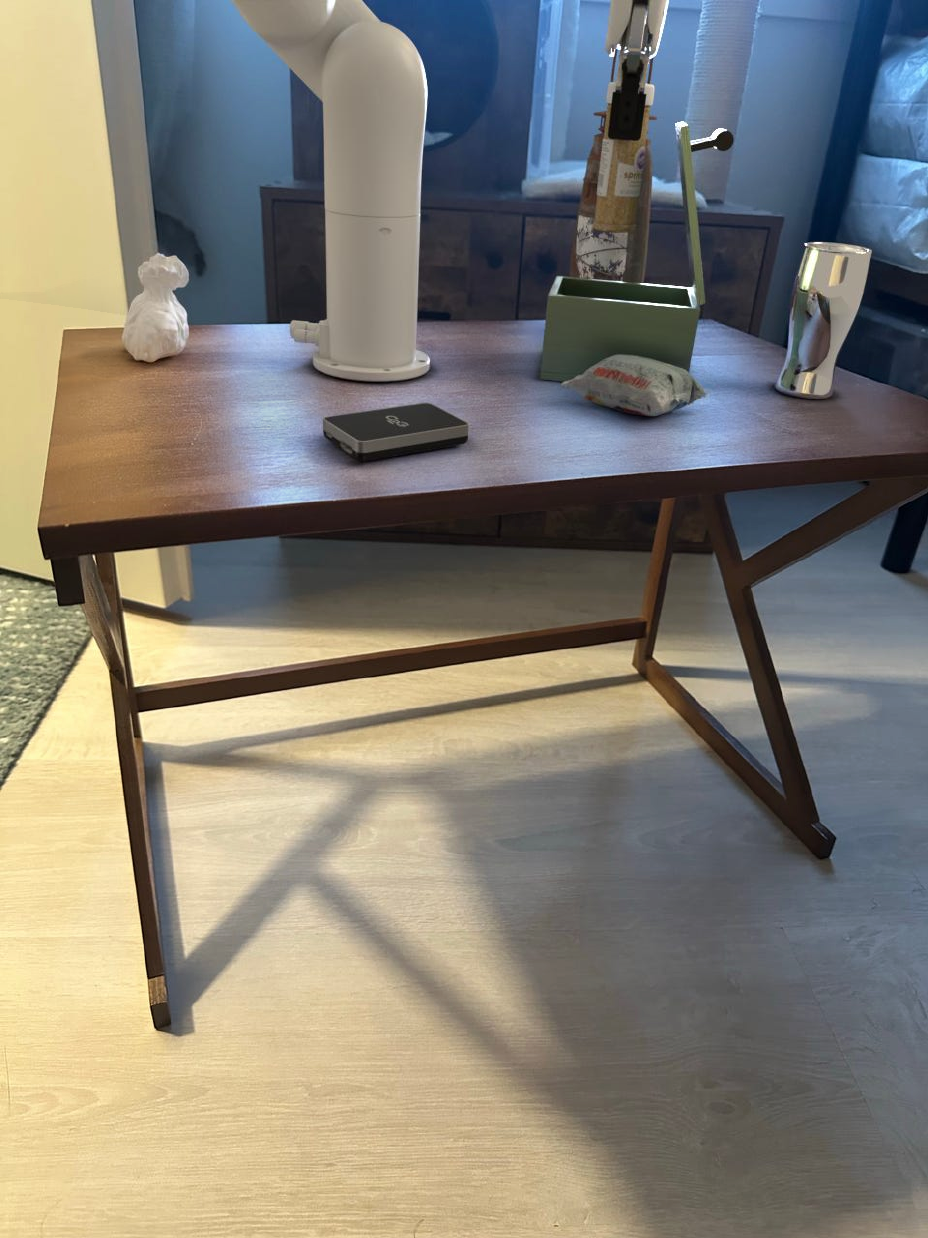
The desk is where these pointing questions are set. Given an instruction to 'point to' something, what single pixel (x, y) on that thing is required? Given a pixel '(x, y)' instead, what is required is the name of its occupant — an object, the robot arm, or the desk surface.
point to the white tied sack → (157, 311)
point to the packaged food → (637, 385)
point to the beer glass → (822, 316)
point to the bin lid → (721, 142)
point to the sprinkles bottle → (620, 174)
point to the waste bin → (615, 324)
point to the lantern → (634, 240)
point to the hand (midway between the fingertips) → (624, 136)
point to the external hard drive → (395, 431)
